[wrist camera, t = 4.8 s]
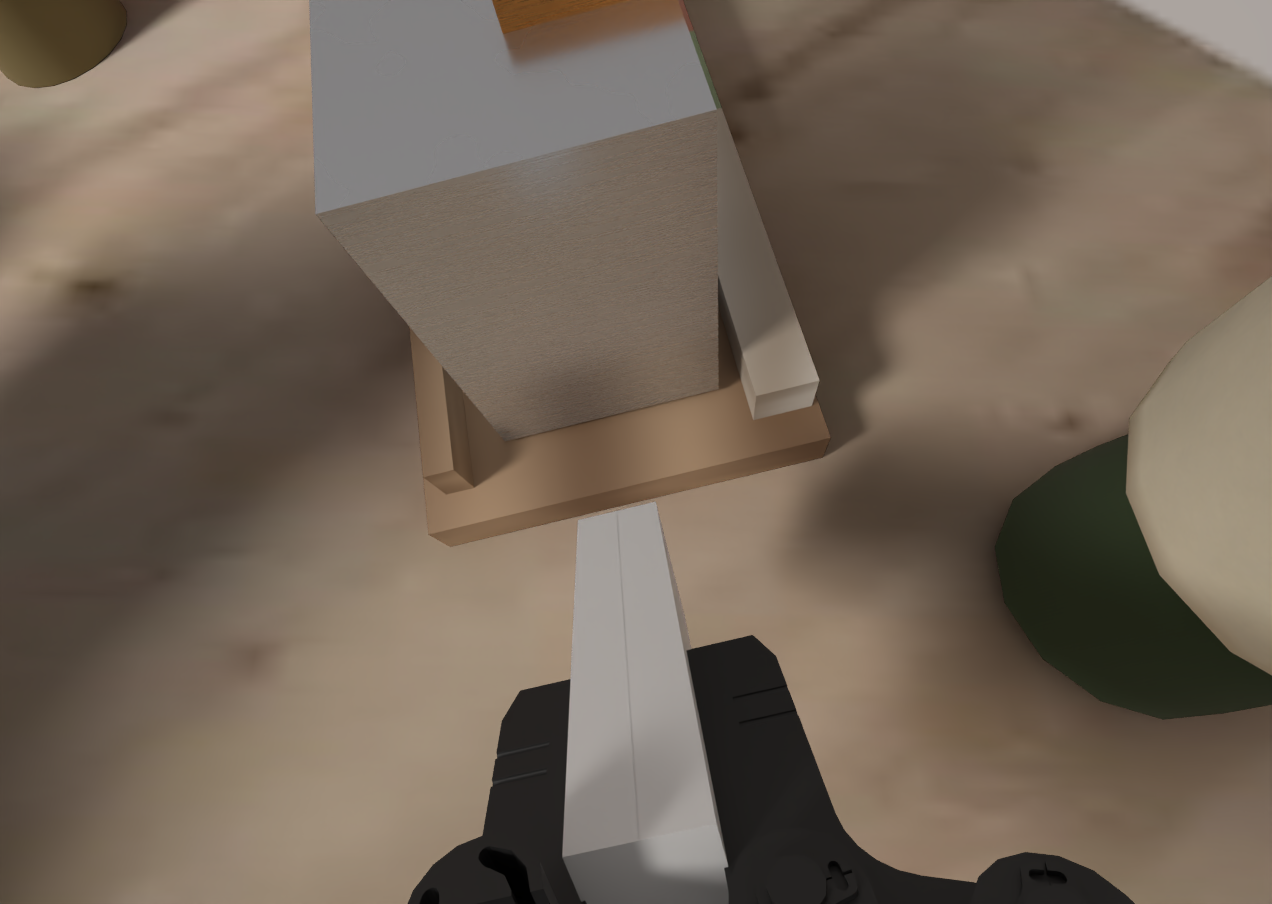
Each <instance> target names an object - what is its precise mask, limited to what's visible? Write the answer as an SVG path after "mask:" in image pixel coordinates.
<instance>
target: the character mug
mask: <svg viewBox="0 0 1272 904" xmlns="http://www.w3.org/2000/svg"><path fill="white" fill-rule="evenodd" d="M995 551H996V557H997V562H998V568H999V574H1000V579H1001V585H1002V590H1003V596H1004V602H1005V604H1006V606H1007V607H1008V609H1009V610H1010V611H1011V613H1012V614H1013V616H1014V617H1015V619H1016V620H1017V622H1018V623H1019V625H1020V626H1021V628H1022V629H1023V631H1024V632H1025V633H1026V635H1027V636H1028V638H1029V639H1030V641H1031V642H1032V644H1033V645H1034V647H1035V648H1036V650H1037V651H1038V653H1039V654H1040V655H1041V657H1042V658H1043V659H1044V660H1045V661H1047V662H1048V663H1050V664H1051V665H1052V666H1054V667H1055V668H1056V669H1058V670H1059V671H1060V672H1062V673H1063V674H1065V675H1066V676H1067V677H1069V678H1070V679H1071V680H1073V681H1074V682H1075V683H1077V684H1078V685H1079V686H1081V687H1082V688H1084V689H1085V690H1086V691H1088V692H1089V693H1090V694H1092V695H1093V696H1094V697H1096V698H1097V699H1099V700H1100V701H1102V702H1106V703H1109V704H1112V705H1116V706H1119V707H1123V708H1126V709H1129V710H1133V711H1136V712H1140V713H1143V714H1147V715H1150V716H1153V717H1157V718H1160V719H1172V718H1182V717H1192V716H1202V715H1212V714H1222V713H1228V712H1234V711H1239V710H1245V709H1250V708H1256V707H1261V706H1267V705H1272V276H1271V277H1270V278H1269V279H1267V280H1266V281H1265V282H1263V283H1262V284H1261V285H1260V286H1258V287H1257V288H1256V289H1254V290H1253V291H1252V292H1250V293H1249V294H1248V295H1247V296H1245V297H1244V298H1243V299H1241V300H1240V301H1239V302H1237V303H1236V304H1235V305H1234V306H1232V307H1231V308H1230V309H1228V310H1227V311H1226V312H1224V313H1223V314H1222V315H1221V316H1219V317H1218V318H1217V319H1215V320H1214V321H1213V322H1211V323H1210V324H1209V325H1208V326H1206V327H1205V328H1204V329H1202V330H1201V331H1200V332H1198V333H1197V334H1196V335H1195V336H1193V337H1192V338H1191V339H1189V340H1188V341H1187V342H1186V343H1185V344H1184V345H1183V347H1182V348H1181V349H1180V350H1179V351H1178V352H1177V354H1176V355H1175V356H1174V357H1173V358H1172V360H1171V361H1170V362H1169V363H1168V365H1167V366H1166V367H1165V369H1164V370H1163V372H1162V373H1161V375H1160V376H1159V377H1158V379H1157V380H1156V382H1155V383H1154V384H1153V386H1152V387H1151V389H1150V390H1149V391H1148V393H1147V394H1146V396H1145V397H1144V398H1143V400H1142V401H1141V403H1140V404H1139V405H1138V407H1137V408H1136V410H1135V411H1134V412H1133V414H1132V415H1131V417H1130V418H1129V433H1128V435H1125V436H1123V437H1120V438H1117V439H1115V440H1112V441H1110V442H1107V443H1105V444H1102V445H1100V446H1097V447H1095V448H1093V449H1091V450H1089V451H1086V452H1084V453H1082V454H1080V455H1078V456H1076V457H1074V458H1072V459H1070V460H1068V461H1066V462H1064V463H1061V464H1059V465H1057V466H1055V467H1054V468H1053V469H1051V470H1050V471H1049V472H1048V473H1046V474H1045V475H1044V476H1042V477H1041V478H1040V479H1039V480H1037V481H1036V482H1035V483H1034V484H1032V485H1031V486H1030V487H1028V488H1027V489H1026V490H1025V491H1023V492H1022V493H1021V494H1020V495H1018V496H1017V497H1016V498H1014V499H1013V501H1012V504H1011V506H1010V509H1009V512H1008V514H1007V517H1006V519H1005V522H1004V525H1003V527H1002V530H1001V532H1000V535H999V538H998V540H997V543H996V545H995Z"/></svg>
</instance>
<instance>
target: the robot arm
mask: <svg viewBox="0 0 1272 904" xmlns="http://www.w3.org/2000/svg"><path fill="white" fill-rule="evenodd" d="M492 781H493V787H491V789H490V795H489V801H488V807H487V813H486V819H485V825H484V830H483V836H481V837H478V838H476V839H473V840H471V841H468V842H466V843H463V844H461V845H459V846H457V847H455V848H454V849H453V850H452V851H450V852H449V853H448V854H446V855H445V856H444V857H443V858H441V859H440V860H439V861H437V862H436V863H435V864H434V865H433V866H432V867H431V868H430V870H429V871H428V872H427V873H426V875H425V876H424V877H423V879H422V880H421V881H420V882H419V884H418V885H417V886H416V888H415V889H414V890H413V892H412V895H411V897H410V899H409V902H408V904H1135V903H1134V902H1133V901H1132V900H1131V899H1130V898H1129V897H1128V896H1126V895H1125V894H1124V893H1122V892H1121V891H1120V890H1119V889H1117V888H1116V887H1115V886H1113V885H1112V884H1111V883H1109V882H1108V881H1107V880H1105V879H1104V878H1103V877H1101V876H1100V875H1099V874H1097V873H1096V872H1095V871H1093V870H1091V869H1088V868H1086V867H1084V866H1081V865H1079V864H1076V863H1074V862H1072V861H1069V860H1067V859H1065V858H1062V857H1060V856H1054V855H1046V854H1037V853H1028V852H1024V853H1020V854H1017V855H1013V856H1009V857H1005V858H1001V859H998V860H997V861H995V862H994V863H993V864H992V865H991V866H990V867H989V868H988V869H987V870H986V871H984V872H983V873H982V874H981V875H980V876H979V877H978V880H977V883H974V882H966V881H959V880H951V879H943V878H935V877H928V876H921V875H916V874H912V873H908V872H904V871H900V870H897V869H895V868H893V867H890V866H888V865H886V864H884V863H882V862H880V861H878V860H876V859H875V858H873V857H872V856H871V855H869V854H868V853H867V852H865V851H864V850H863V849H861V848H860V847H859V846H858V845H857V844H856V843H855V842H854V841H853V839H852V838H851V837H850V836H849V835H848V834H847V833H846V831H845V830H844V829H843V827H842V825H841V823H840V821H839V819H838V817H837V815H836V813H835V811H834V808H833V806H832V803H831V800H830V798H829V795H828V792H827V790H826V787H825V785H824V782H823V779H822V777H821V774H820V771H819V769H818V766H817V763H816V761H815V758H814V755H813V753H812V750H811V748H810V745H809V742H808V740H807V737H806V734H805V732H804V729H803V726H802V724H801V721H800V718H799V716H798V715H797V711H796V708H795V705H794V703H793V700H792V697H791V695H790V692H789V691H788V688H787V684H786V681H785V679H784V676H783V674H782V671H781V668H780V666H779V663H778V660H777V658H776V656H775V655H774V654H773V653H772V652H771V651H770V650H769V649H768V648H766V647H765V646H764V645H763V644H762V643H761V642H760V641H759V640H758V639H757V638H755V637H754V636H753V635H751V636H747V637H742V638H738V639H733V640H729V641H725V642H720V643H716V644H712V645H707V646H703V647H699V648H694V649H692V648H691V644H690V639H689V634H688V629H687V624H686V619H685V615H684V611H683V607H682V603H681V599H680V595H679V591H678V587H677V583H676V580H675V576H674V572H673V568H672V564H671V560H670V556H669V552H668V548H667V544H666V540H665V536H664V532H663V528H662V524H661V521H660V517H659V513H658V509H657V505H656V502H652V503H648V504H644V505H640V506H635V507H631V508H627V509H623V510H619V511H614V512H610V513H606V514H602V515H598V516H593V517H589V518H585V519H581V520H578V531H577V553H576V574H575V595H574V617H573V638H572V660H571V679H569V680H565V681H561V682H556V683H552V684H547V685H543V686H539V687H534V688H530V689H526V690H521V691H520V692H519V693H518V695H517V697H516V698H515V700H514V702H513V703H512V705H511V707H510V708H509V710H508V712H507V713H506V715H505V717H504V718H503V720H502V724H501V730H500V736H499V742H498V748H497V759H495V765H494V771H493V777H492Z"/></svg>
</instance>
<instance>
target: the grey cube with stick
mask: <svg viewBox="0 0 1272 904" xmlns="http://www.w3.org/2000/svg"><path fill="white" fill-rule="evenodd" d="M309 6H310V40H311V74H312V108H313V142H314V176H315V210H316V215H317V216H318V218H319V219H320V220H321V221H322V222H323V224H324V225H325V226H326V227H327V228H328V230H329V231H330V232H331V233H332V234H333V236H334V237H335V238H336V239H337V240H338V242H339V243H340V244H341V245H342V246H343V248H344V249H345V250H346V251H347V252H348V254H349V255H350V256H351V257H352V258H353V260H354V261H355V262H356V263H357V264H358V266H359V267H360V268H361V269H362V270H363V272H364V273H365V274H366V275H367V276H368V278H369V279H370V280H371V281H372V282H373V284H374V285H375V286H376V287H377V288H378V290H379V291H380V292H381V293H382V294H383V296H384V297H385V298H386V299H387V300H388V302H389V303H390V304H391V305H392V306H393V308H394V309H395V310H396V311H397V312H398V314H399V315H400V316H401V317H402V318H403V320H404V321H405V322H406V323H407V324H408V326H409V327H410V328H411V329H412V330H413V332H414V333H415V334H416V335H417V336H418V338H419V339H420V340H421V341H422V342H423V344H424V345H425V346H426V347H427V348H428V350H429V351H430V352H431V353H432V354H433V356H434V357H435V358H436V359H437V360H438V362H439V363H440V364H441V365H442V366H443V368H444V369H445V370H446V371H447V372H448V374H449V375H450V376H451V377H452V378H453V380H454V381H455V382H456V383H457V384H458V386H459V387H460V388H461V389H462V390H463V392H464V393H465V394H466V395H467V396H468V398H469V399H470V400H471V401H472V402H473V404H474V405H475V406H476V407H477V408H478V410H479V411H480V412H481V413H482V414H483V416H484V417H485V418H486V419H487V420H488V422H489V423H490V424H491V425H492V426H493V428H494V429H495V430H496V431H497V432H498V434H499V435H500V436H501V437H502V438H503V440H504V441H509V440H513V439H517V438H521V437H525V436H529V435H533V434H537V433H541V432H545V431H550V430H554V429H558V428H562V427H566V426H570V425H574V424H578V423H582V422H586V421H590V420H594V419H599V418H603V417H607V416H611V415H615V414H619V413H623V412H627V411H631V410H635V409H639V408H643V407H648V406H652V405H656V404H660V403H664V402H668V401H672V400H676V399H680V398H684V397H688V396H692V395H697V394H701V393H705V392H709V391H713V390H717V389H719V384H718V226H717V109H716V106H715V103H714V100H713V97H712V95H711V92H710V89H709V86H708V83H707V81H706V78H705V75H704V72H703V69H702V66H701V64H700V61H699V58H698V55H697V52H696V50H695V47H694V44H693V41H692V38H691V35H690V33H689V30H688V27H687V24H686V21H685V18H684V16H683V13H682V10H681V7H680V4H679V2H678V0H309Z"/></svg>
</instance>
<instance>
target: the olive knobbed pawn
mask: <svg viewBox="0 0 1272 904" xmlns="http://www.w3.org/2000/svg"><path fill="white" fill-rule="evenodd" d="M126 24H127V18H126V10H125V8H124V7H123V5H122V4H121V2H120V1H119V0H0V70H1V71H2V72H3V74H4V75H5V76H6V77H7V78H8V79H10V80H11V81H13V82H14V83H16V84H17V85H20V86H26V87H32V88H38V87H46V86H54V85H57V84H60V83H62V82H65V81H68V80H71V79H74V78H76V77H77V76H79V75H81V74H83V73H84V72H86V71H88V70H90V69H91V68H93V67H94V66H95V65H97V64H98V63H99V62H100V61H101V60H103V59H104V58H105V57H106V56H107V55H108V54H109V53H110V52H111V51H112V50H113V48H114V47H115V46H116V44H117V43H118V42H119V41H120V39H121V37H122V35H123V32H124V30H125V27H126Z"/></svg>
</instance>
